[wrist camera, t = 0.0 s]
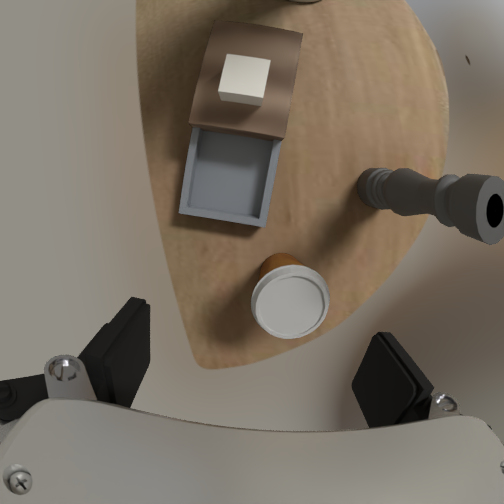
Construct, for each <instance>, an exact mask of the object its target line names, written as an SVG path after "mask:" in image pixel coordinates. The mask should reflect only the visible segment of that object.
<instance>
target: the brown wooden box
mask: <svg viewBox="0 0 504 504" xmlns="http://www.w3.org/2000/svg"><path fill="white" fill-rule="evenodd" d="M302 36H303V33H299V32H294V31H290V30H285V29H280V28H274V27H268V26H262V25H256V24H248V23H240V22H230V21H217V20H215V21H214V24H213V27H212V30H211V34H210V37H209V40H208V44H207V47H206V51H205V55H204V58H203V62H202V66H201V70H200V74H199V78H198V82H197V86H196V90H195V95H194V99H193V103H192V108H191V113H190V117H189V122H188V123H189V124H190V125H191V126H192V127H197V128H201V129H202V130H203V131H209V132H217V133H224V134H231V135H238V136H244V137H250V138H256V139H261V140H266V141H273V140H274V139H275V140H280V141H282V140H283V139H284V138H285V133H286V127H287V122H288V116H289V111H290V105H291V100H292V94H293V88H294V83H295V77H296V71H297V66H298V60H299V54H300V48H301V42H302ZM227 54H232V55H241V56H248V57H255V58H261V59H267V60H271V61H270V66H269V71H268V76H267V81H266V86H265V91H264V96H263V101H262V106H256V105H250V104H244V103H237V102H230V101H223V100H221V98H220V95H219V92H218V89H219V85H220V80H221V76H222V72H223V68H224V64H225V60H226V56H227Z"/></svg>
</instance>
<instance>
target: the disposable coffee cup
mask: <svg viewBox="0 0 504 504" xmlns="http://www.w3.org/2000/svg"><path fill="white" fill-rule="evenodd" d="M329 301H330V294H329V289H328V286H327V284H326V282H325V280H324V279H323V278H322V277H321V276H320V275H319V274H318V273H317V272H316V271H314V270H312V269H310V268H308V267H305V266H304V265H303V264H301V263H300V262H299V261H298V260H296V259H295V258H294V257H293V256H291V255H289V254H286V253H277V254H274V255H272V256H270V257H269V258H267V259H266V260H265V262H264V263H263V265H262V267H261V271H260V275H259V280H258V283H257V285H256V287H255V289H254V291H253V293H252V298H251V309H252V313H253V316H254V318H255V320H256V321H257V323H258V324H259V325H260V326H261V327H262V328H263V329H264V330H265V331H267V332H268V333H269V334H271V335H273V336H276V337H279V338H284V339H294V338H299V337H302V336H305V335H307V334H309V333H311V332H312V331H314V330H315V329H316V328H317V327H318V326H319V325H320V324H321V323H322V321H323V320H324V318H325V316H326V314H327V311H328V307H329Z"/></svg>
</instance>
